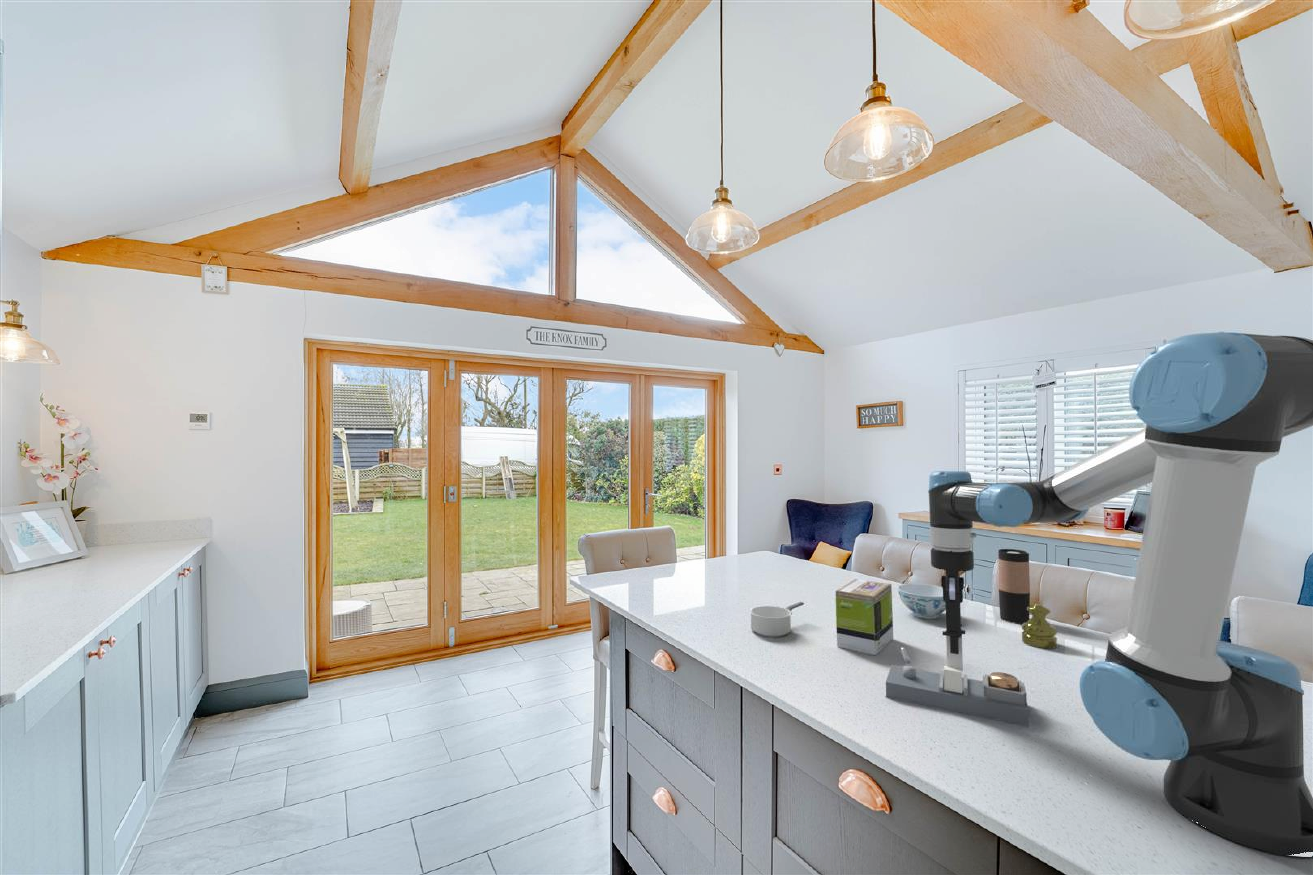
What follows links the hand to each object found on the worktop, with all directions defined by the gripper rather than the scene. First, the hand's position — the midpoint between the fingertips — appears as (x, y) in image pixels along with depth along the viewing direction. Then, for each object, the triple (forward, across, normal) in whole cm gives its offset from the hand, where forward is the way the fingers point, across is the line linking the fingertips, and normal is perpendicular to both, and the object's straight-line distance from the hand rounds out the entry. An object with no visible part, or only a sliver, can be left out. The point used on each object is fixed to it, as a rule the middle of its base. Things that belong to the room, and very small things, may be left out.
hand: (955, 668), depth 107 cm
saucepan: (+6, +27, +44) cm, 52 cm away
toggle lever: (+2, +1, +8) cm, 9 cm away
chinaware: (+6, +59, +9) cm, 60 cm away
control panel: (+7, +1, 0) cm, 7 cm away
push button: (+3, +1, -8) cm, 9 cm away
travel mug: (+6, +67, -14) cm, 69 cm away
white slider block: (+4, -2, 0) cm, 4 cm away
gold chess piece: (+7, +47, -18) cm, 51 cm away
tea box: (+7, +26, +21) cm, 34 cm away
